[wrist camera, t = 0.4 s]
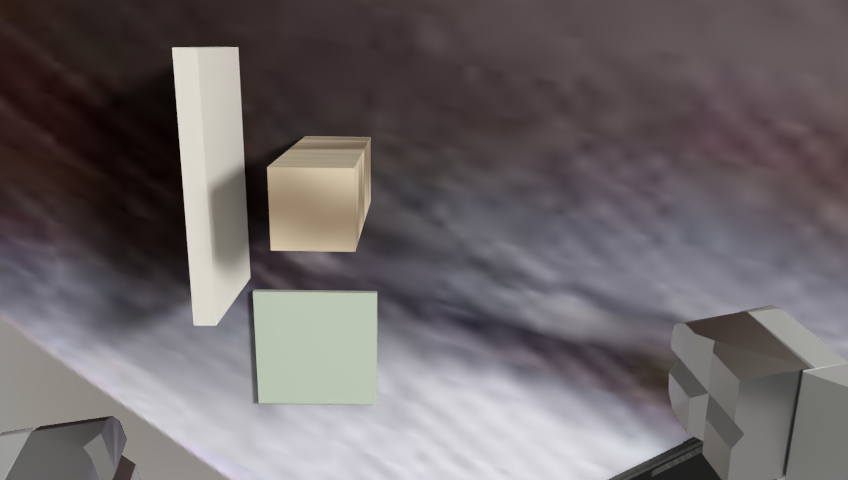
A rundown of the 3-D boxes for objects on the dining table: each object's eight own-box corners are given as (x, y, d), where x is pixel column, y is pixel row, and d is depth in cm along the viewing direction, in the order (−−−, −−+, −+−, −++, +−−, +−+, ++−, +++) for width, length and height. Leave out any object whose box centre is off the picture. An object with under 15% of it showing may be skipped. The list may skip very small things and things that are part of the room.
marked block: (301, 136, 54) (261, 166, 40) (370, 137, 54) (354, 168, 40) (303, 199, 55) (265, 250, 42) (370, 200, 55) (355, 251, 42)
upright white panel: (217, 46, 52) (172, 47, 42) (238, 47, 52) (197, 47, 42) (231, 277, 57) (193, 325, 47) (250, 277, 57) (216, 325, 47)
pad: (254, 289, 57) (252, 291, 57) (377, 291, 57) (376, 293, 57) (259, 400, 60) (258, 403, 59) (377, 401, 60) (377, 404, 59)
